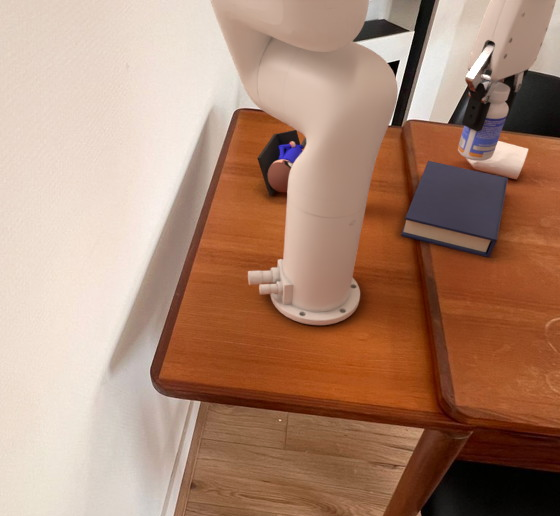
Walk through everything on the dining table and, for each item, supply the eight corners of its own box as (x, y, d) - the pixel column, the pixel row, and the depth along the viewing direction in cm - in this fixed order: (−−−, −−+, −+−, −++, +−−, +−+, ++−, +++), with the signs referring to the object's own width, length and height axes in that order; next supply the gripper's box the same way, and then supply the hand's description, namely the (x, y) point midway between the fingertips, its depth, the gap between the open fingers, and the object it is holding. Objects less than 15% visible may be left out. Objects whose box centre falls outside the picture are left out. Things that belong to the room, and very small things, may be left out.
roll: (456, 156, 104) (465, 127, 100) (518, 170, 101) (530, 142, 97) (450, 169, 100) (459, 140, 96) (515, 185, 97) (527, 156, 93)
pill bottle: (498, 154, 82) (523, 88, 74) (479, 165, 79) (503, 97, 72) (469, 141, 84) (490, 76, 77) (449, 151, 82) (469, 84, 74)
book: (489, 258, 82) (497, 239, 80) (400, 235, 85) (405, 217, 83) (501, 195, 95) (508, 177, 92) (423, 178, 98) (428, 160, 95)
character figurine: (313, 167, 99) (289, 208, 90) (276, 156, 100) (249, 197, 90) (320, 126, 93) (295, 166, 83) (281, 115, 94) (252, 153, 84)
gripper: (545, -42, 70) (497, 100, 84) (466, -26, 63) (427, 127, 76) (598, -29, 66) (538, 117, 80) (520, -10, 59) (469, 148, 73)
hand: (484, 121), depth 78 cm, fingers closed on pill bottle, 5 cm apart
